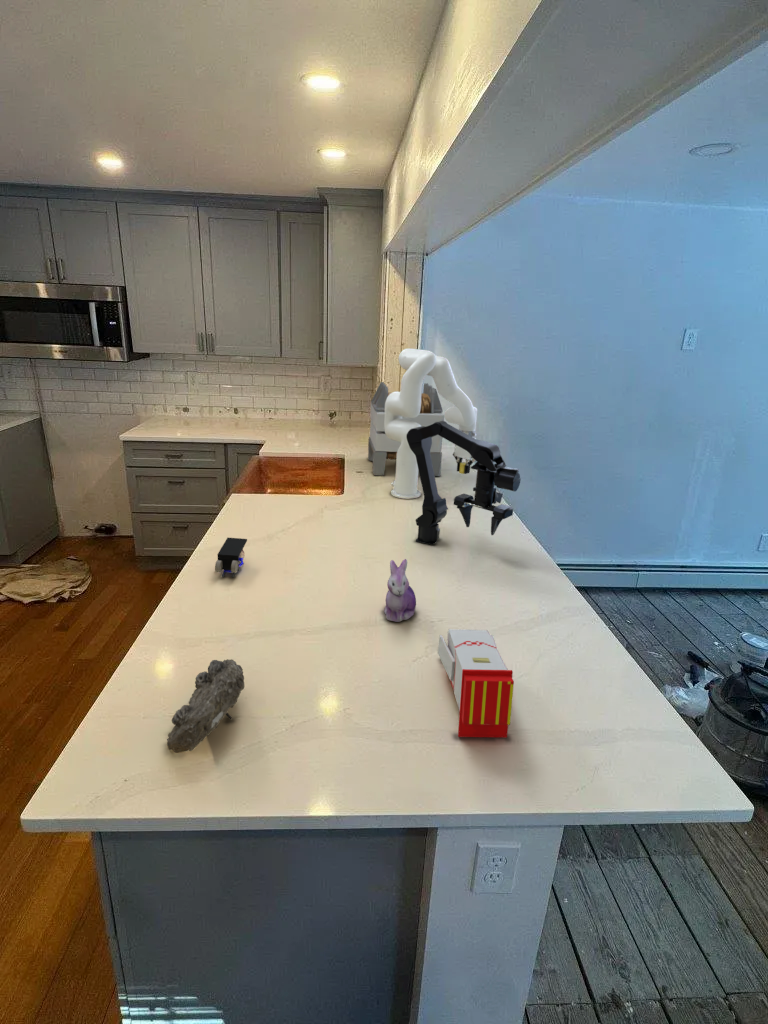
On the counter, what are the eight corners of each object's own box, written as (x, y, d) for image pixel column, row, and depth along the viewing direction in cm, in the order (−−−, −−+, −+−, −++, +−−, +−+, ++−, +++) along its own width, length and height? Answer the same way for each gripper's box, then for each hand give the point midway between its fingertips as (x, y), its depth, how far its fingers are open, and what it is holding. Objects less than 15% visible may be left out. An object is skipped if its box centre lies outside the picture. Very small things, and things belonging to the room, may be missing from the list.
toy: (488, 613, 130) (523, 677, 101) (484, 667, 133) (517, 744, 104) (435, 612, 130) (455, 676, 101) (432, 666, 133) (451, 743, 103)
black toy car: (238, 584, 162) (249, 557, 175) (236, 562, 158) (247, 536, 172) (215, 584, 161) (227, 556, 175) (212, 561, 158) (225, 535, 171)
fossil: (192, 660, 117) (244, 628, 112) (224, 691, 120) (276, 661, 115) (142, 746, 98) (202, 712, 93) (182, 779, 101) (242, 748, 96)
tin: (466, 474, 263) (467, 464, 262) (458, 473, 264) (459, 463, 263) (467, 472, 267) (468, 462, 265) (459, 471, 268) (460, 461, 266)
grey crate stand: (367, 457, 298) (369, 379, 284) (428, 458, 302) (433, 380, 288) (373, 475, 266) (376, 388, 253) (441, 476, 270) (448, 390, 256)
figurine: (392, 627, 141) (395, 572, 136) (374, 608, 149) (376, 556, 144) (425, 619, 145) (429, 566, 140) (405, 601, 154) (408, 550, 149)
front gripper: (524, 486, 177) (518, 532, 182) (473, 473, 188) (469, 517, 194) (506, 493, 169) (500, 541, 174) (454, 479, 180) (450, 525, 186)
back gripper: (486, 436, 256) (482, 475, 262) (458, 429, 267) (454, 467, 273) (475, 438, 251) (471, 477, 257) (447, 431, 262) (444, 469, 269)
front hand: (480, 530), depth 182 cm, fingers open, 9 cm apart
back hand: (463, 471), depth 265 cm, fingers closed on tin, 3 cm apart
